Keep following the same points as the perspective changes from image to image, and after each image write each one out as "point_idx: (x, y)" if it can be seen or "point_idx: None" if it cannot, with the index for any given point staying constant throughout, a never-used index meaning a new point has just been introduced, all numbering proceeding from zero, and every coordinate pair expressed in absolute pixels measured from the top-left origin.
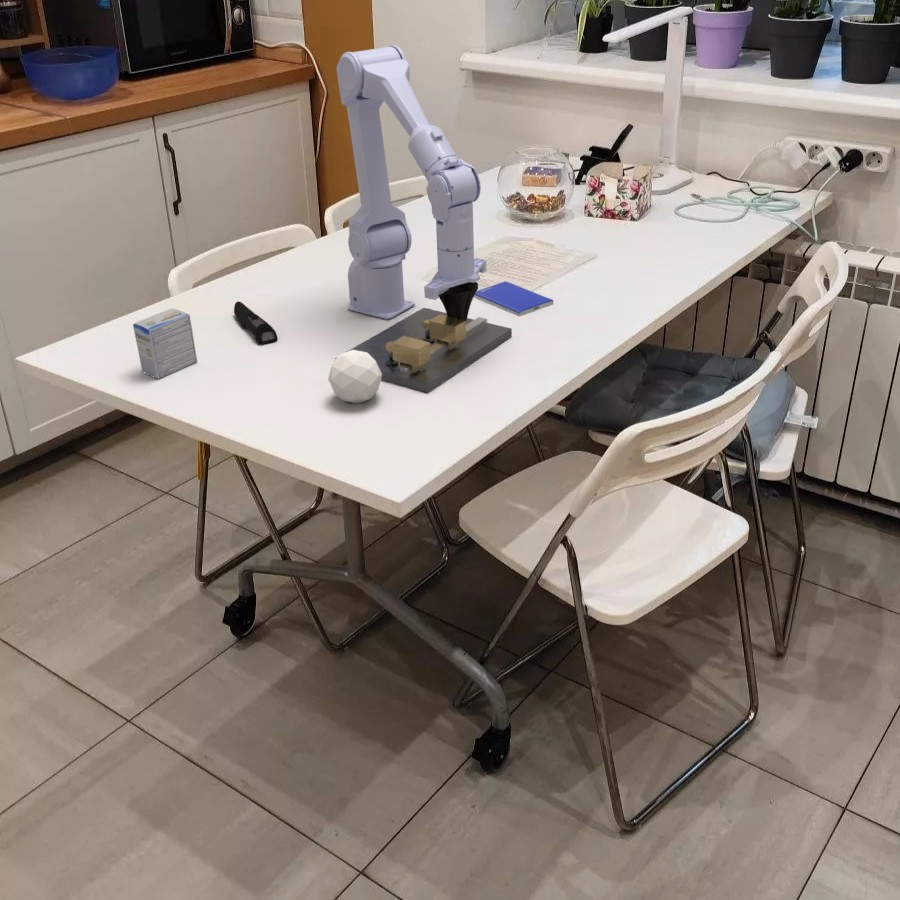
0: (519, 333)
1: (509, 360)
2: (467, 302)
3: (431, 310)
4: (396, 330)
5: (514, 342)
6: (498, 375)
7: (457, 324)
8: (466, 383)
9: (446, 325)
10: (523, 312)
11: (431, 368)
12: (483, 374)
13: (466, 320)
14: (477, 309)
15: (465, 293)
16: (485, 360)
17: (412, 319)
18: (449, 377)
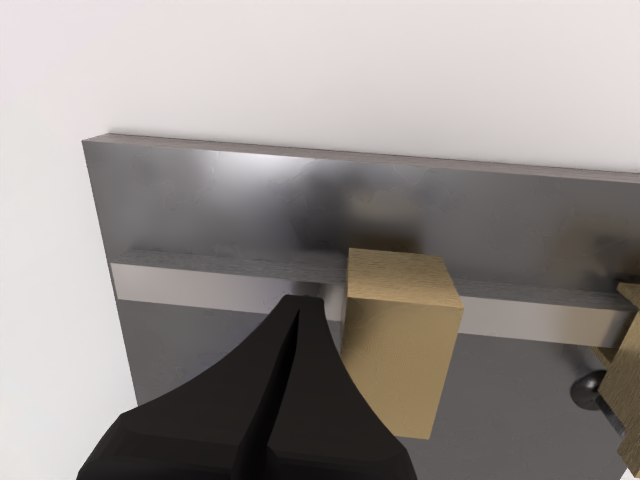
0: (58, 120)
1: (314, 11)
2: (268, 377)
3: None
4: None
5: (141, 94)
6: None
7: (421, 311)
8: (622, 76)
9: (451, 354)
10: None
11: (614, 254)
12: (504, 50)
13: (279, 305)
14: (18, 344)
15: (365, 467)
16: (362, 119)
17: None
18: (592, 170)
